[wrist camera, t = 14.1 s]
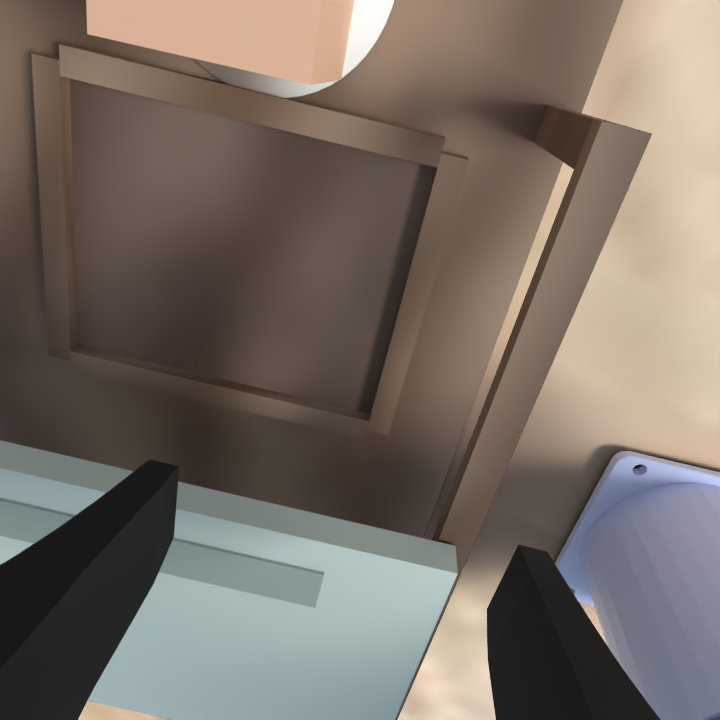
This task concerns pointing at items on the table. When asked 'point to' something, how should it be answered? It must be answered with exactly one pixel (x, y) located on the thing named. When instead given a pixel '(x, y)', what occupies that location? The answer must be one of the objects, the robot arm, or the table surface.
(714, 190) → the table surface
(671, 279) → the table surface
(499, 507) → the table surface
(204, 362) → the puzzle board
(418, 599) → the slide cover
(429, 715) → the table surface
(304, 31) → the block
